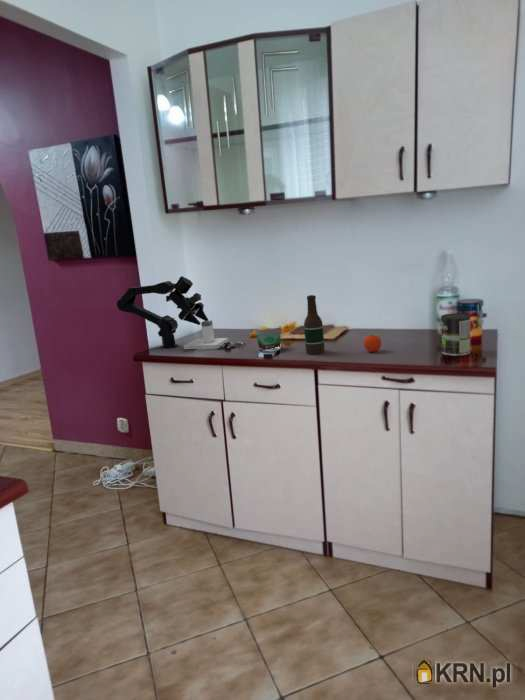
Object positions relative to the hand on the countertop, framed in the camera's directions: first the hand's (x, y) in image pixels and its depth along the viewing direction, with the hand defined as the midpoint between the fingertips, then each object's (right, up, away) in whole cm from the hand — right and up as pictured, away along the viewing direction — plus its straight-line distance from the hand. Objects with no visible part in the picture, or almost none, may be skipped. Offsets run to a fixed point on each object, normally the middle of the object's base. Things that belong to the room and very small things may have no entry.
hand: (204, 322), depth 252 cm
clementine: (+73, -14, -41) cm, 85 cm away
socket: (+1, -11, +3) cm, 11 cm away
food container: (+32, -14, -22) cm, 41 cm away
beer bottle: (+50, -15, -33) cm, 62 cm away
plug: (+3, -11, +2) cm, 12 cm away
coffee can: (+101, -14, -55) cm, 116 cm away
